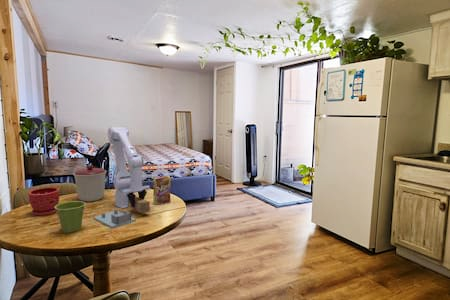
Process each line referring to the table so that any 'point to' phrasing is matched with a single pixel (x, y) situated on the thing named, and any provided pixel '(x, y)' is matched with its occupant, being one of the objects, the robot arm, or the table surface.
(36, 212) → the plant pot
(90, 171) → the canister
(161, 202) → the candy box
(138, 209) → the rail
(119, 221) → the bracket board
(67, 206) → the plant pot
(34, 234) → the table surface
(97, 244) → the table surface
